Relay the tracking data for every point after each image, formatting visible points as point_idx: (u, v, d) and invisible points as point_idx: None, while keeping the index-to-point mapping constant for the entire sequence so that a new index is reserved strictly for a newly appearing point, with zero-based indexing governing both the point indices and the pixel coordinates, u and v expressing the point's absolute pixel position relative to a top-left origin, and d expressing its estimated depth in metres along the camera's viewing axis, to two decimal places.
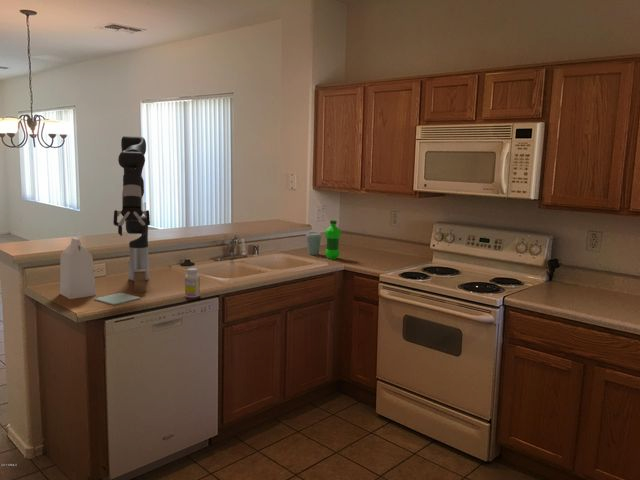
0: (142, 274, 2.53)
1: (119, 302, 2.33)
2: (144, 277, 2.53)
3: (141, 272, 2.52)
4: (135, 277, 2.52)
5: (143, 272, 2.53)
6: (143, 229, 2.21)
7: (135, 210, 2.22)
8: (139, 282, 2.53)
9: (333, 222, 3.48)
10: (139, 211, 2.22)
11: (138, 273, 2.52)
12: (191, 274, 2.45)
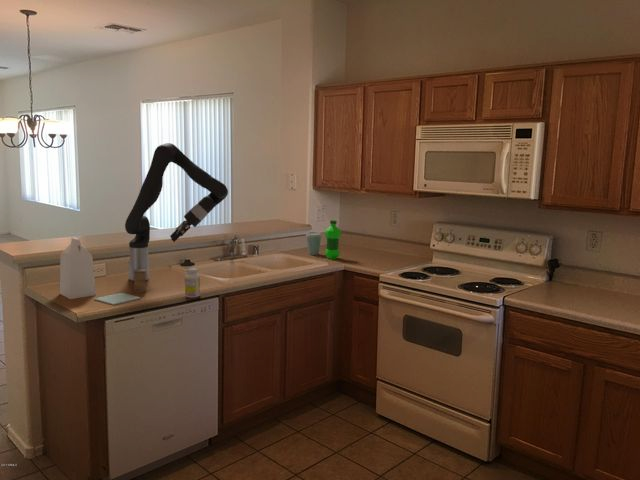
0: (142, 274, 2.53)
1: (119, 302, 2.33)
2: (144, 277, 2.53)
3: (141, 272, 2.52)
4: (135, 277, 2.52)
5: (143, 272, 2.53)
6: None
7: None
8: (139, 282, 2.53)
9: (333, 222, 3.48)
10: None
11: (138, 273, 2.52)
12: (191, 274, 2.45)
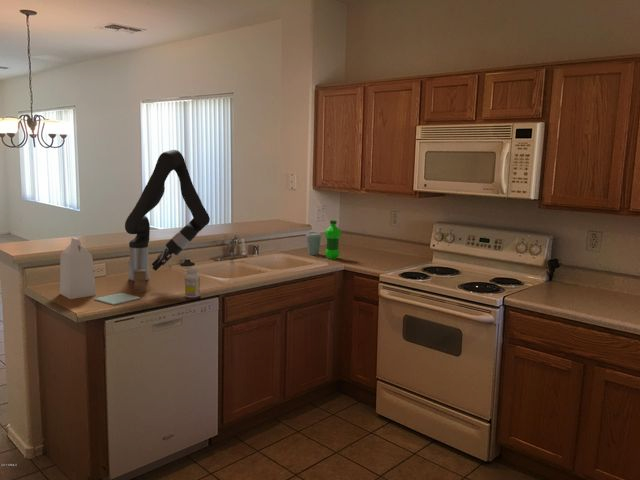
0: (142, 274, 2.53)
1: (119, 302, 2.33)
2: (144, 277, 2.53)
3: (141, 272, 2.52)
4: (135, 277, 2.52)
5: (143, 272, 2.53)
6: None
7: None
8: (139, 282, 2.53)
9: (333, 222, 3.48)
10: None
11: (138, 273, 2.52)
12: (191, 274, 2.45)
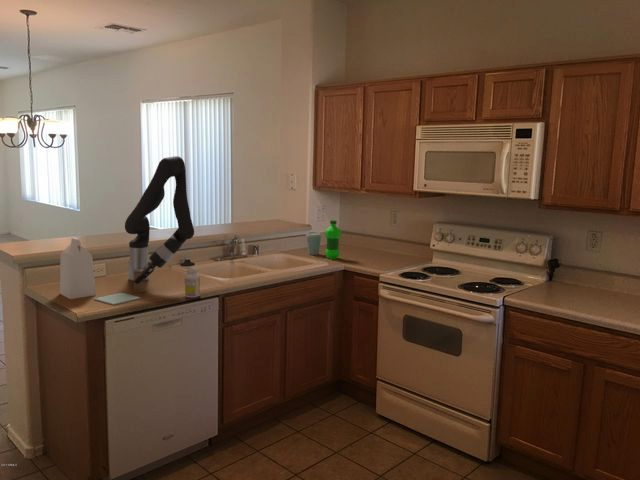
0: None
1: (119, 302, 2.33)
2: None
3: (141, 272, 2.52)
4: (135, 277, 2.52)
5: None
6: None
7: None
8: None
9: (333, 222, 3.48)
10: None
11: (138, 273, 2.52)
12: (191, 274, 2.45)
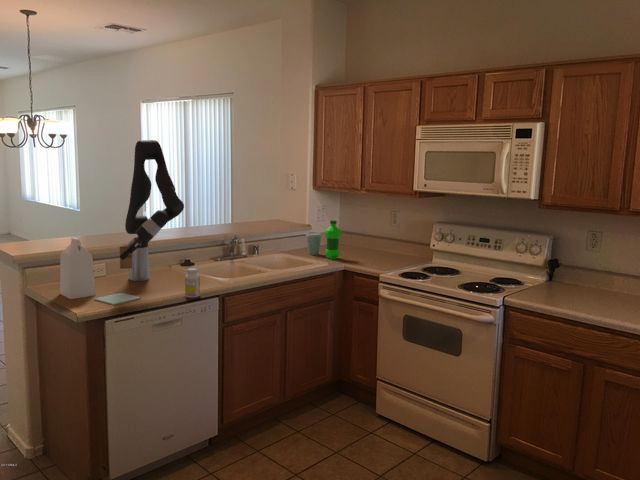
0: None
1: (119, 302, 2.33)
2: None
3: (127, 247, 2.39)
4: (120, 253, 2.39)
5: None
6: None
7: None
8: None
9: (333, 222, 3.48)
10: None
11: (124, 248, 2.39)
12: (191, 274, 2.45)
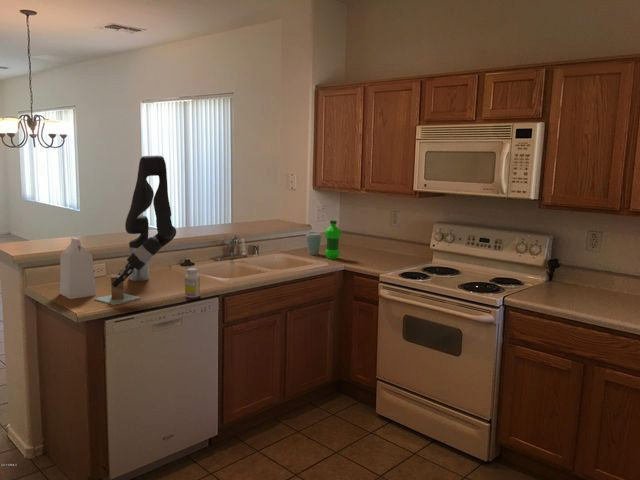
0: None
1: (119, 302, 2.33)
2: (122, 283, 2.37)
3: None
4: None
5: None
6: None
7: None
8: (116, 288, 2.37)
9: (333, 222, 3.48)
10: None
11: (115, 279, 2.36)
12: (191, 274, 2.45)
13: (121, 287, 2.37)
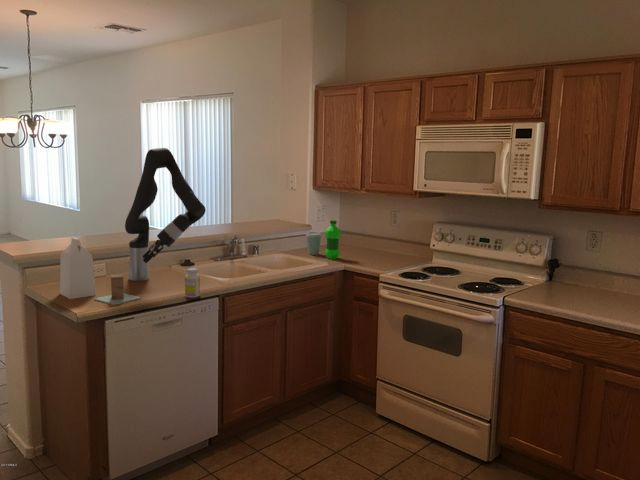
0: (120, 280, 2.37)
1: (119, 302, 2.33)
2: (122, 283, 2.37)
3: (118, 278, 2.36)
4: (112, 284, 2.36)
5: (121, 278, 2.37)
6: None
7: None
8: (116, 288, 2.37)
9: (333, 222, 3.48)
10: None
11: (115, 279, 2.36)
12: (191, 274, 2.45)
13: (121, 287, 2.37)
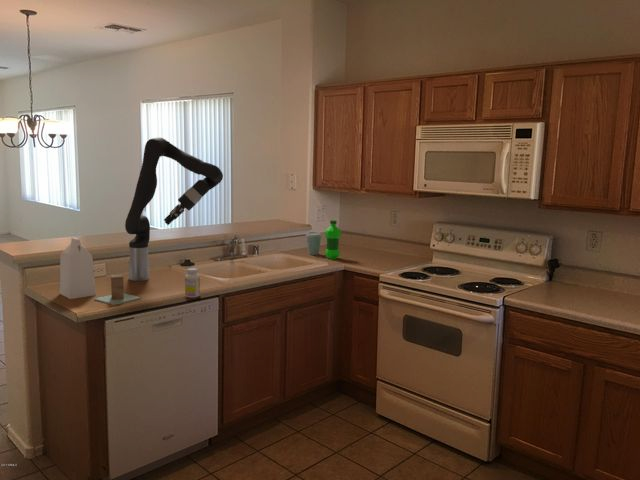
0: (120, 280, 2.37)
1: (119, 302, 2.33)
2: (122, 283, 2.37)
3: (118, 278, 2.36)
4: (112, 284, 2.36)
5: (121, 278, 2.37)
6: None
7: None
8: (116, 288, 2.37)
9: (333, 222, 3.48)
10: None
11: (115, 279, 2.36)
12: (191, 274, 2.45)
13: (121, 287, 2.37)
